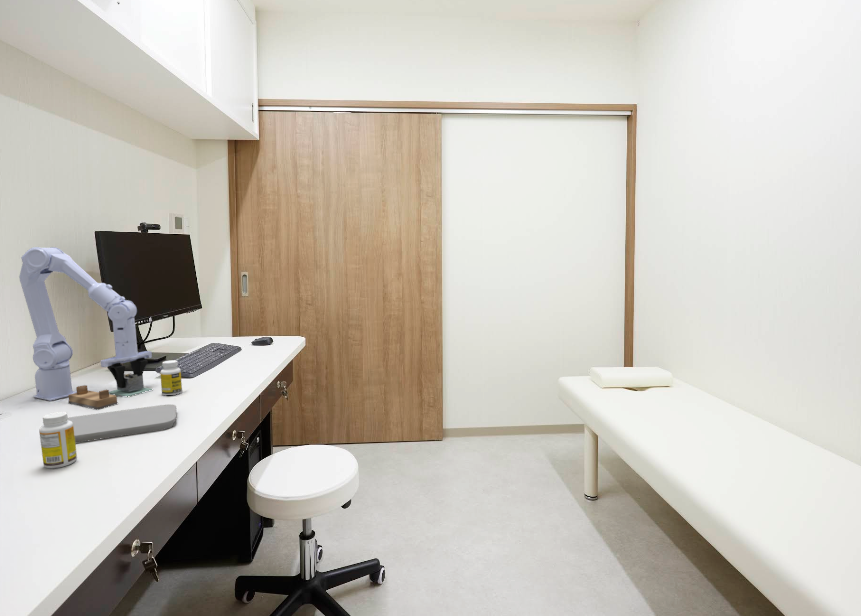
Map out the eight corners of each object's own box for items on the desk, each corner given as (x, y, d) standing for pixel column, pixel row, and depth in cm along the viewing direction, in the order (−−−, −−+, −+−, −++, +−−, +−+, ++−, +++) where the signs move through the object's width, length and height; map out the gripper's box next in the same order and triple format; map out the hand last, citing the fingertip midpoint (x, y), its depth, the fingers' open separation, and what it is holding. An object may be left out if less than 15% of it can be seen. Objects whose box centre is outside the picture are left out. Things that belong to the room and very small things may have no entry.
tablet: (59, 427, 126) (58, 418, 126) (177, 411, 137) (176, 403, 137) (43, 450, 112) (42, 440, 112) (176, 430, 123) (175, 421, 123)
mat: (107, 393, 155) (107, 392, 155) (132, 386, 162) (132, 385, 162) (127, 397, 150) (127, 395, 150) (153, 390, 157) (153, 388, 157)
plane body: (68, 403, 145) (67, 388, 145) (88, 398, 150) (87, 383, 150) (97, 409, 139) (95, 393, 138) (117, 404, 144) (116, 388, 143)
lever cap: (117, 389, 155) (115, 374, 154) (131, 385, 159) (130, 371, 158) (129, 391, 152) (128, 376, 152) (143, 388, 156) (142, 373, 156)
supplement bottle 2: (174, 396, 150) (171, 363, 149) (157, 396, 151) (155, 363, 150) (186, 391, 155) (183, 359, 154) (170, 390, 156) (168, 359, 155)
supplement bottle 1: (72, 455, 107) (67, 408, 106) (81, 462, 104) (75, 413, 103) (40, 464, 103) (34, 415, 102) (47, 472, 100) (42, 421, 98)
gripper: (109, 346, 146) (113, 393, 147) (156, 338, 159) (160, 381, 160) (94, 344, 149) (99, 390, 151) (142, 336, 162) (146, 378, 163)
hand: (129, 385), depth 156 cm, fingers closed on lever cap, 4 cm apart
